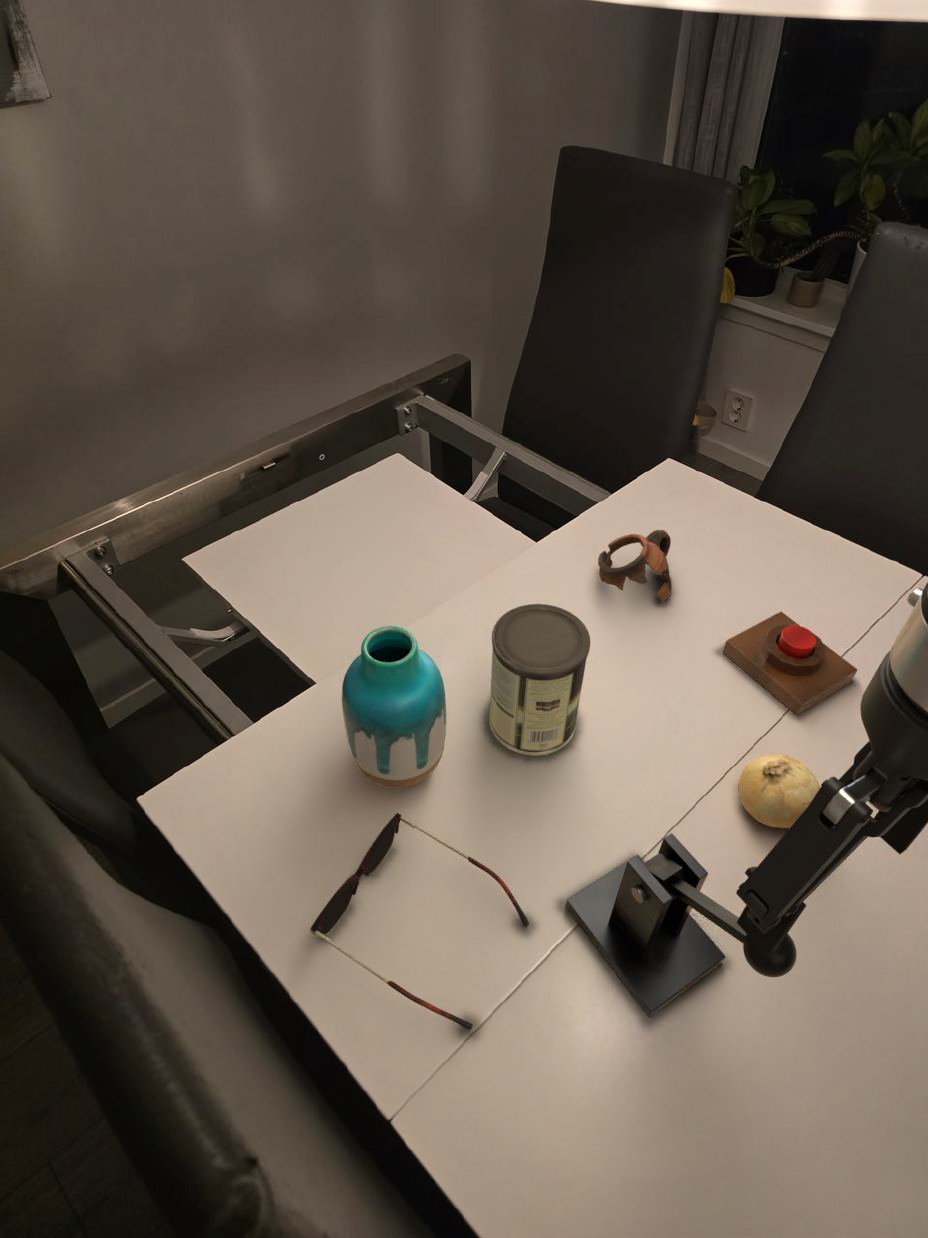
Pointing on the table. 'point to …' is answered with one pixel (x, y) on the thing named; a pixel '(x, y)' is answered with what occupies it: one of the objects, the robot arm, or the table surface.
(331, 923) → the sunglasses
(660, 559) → the pottery mug
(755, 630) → the button block
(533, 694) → the coffee can
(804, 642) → the button
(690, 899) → the lever
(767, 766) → the onion
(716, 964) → the bracket
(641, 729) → the table surface
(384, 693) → the vase
